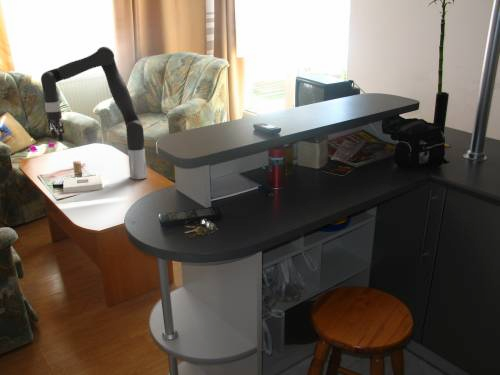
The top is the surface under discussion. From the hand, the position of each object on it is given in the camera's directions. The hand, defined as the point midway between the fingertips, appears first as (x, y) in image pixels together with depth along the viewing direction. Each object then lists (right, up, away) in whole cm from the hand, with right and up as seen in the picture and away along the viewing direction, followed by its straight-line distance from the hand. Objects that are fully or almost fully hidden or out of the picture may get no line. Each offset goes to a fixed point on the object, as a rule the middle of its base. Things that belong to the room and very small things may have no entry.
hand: (57, 139), depth 269 cm
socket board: (+12, -25, +6) cm, 29 cm away
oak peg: (+5, -21, +19) cm, 28 cm away
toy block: (-35, -5, +65) cm, 74 cm away
